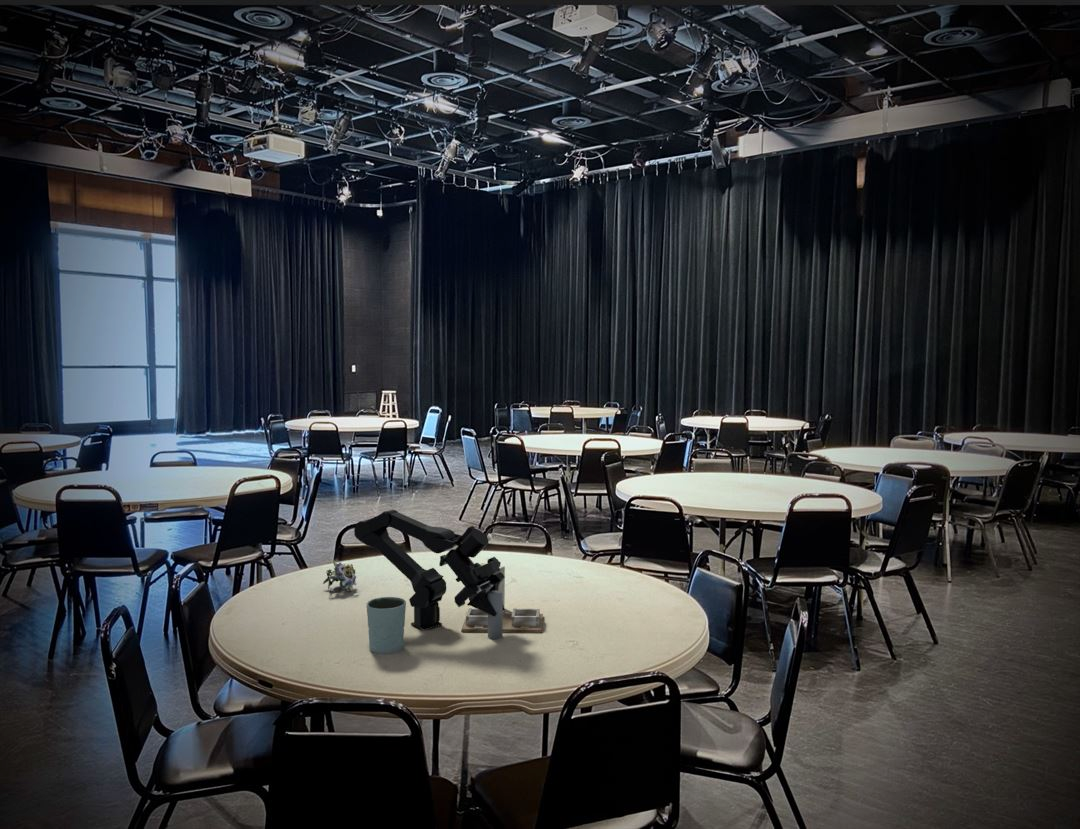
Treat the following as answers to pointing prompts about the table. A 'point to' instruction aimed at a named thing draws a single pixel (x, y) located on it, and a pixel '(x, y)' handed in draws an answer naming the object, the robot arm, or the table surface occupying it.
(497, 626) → the plug
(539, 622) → the socket board
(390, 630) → the light blue cup
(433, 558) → the table surface
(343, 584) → the passion flower
